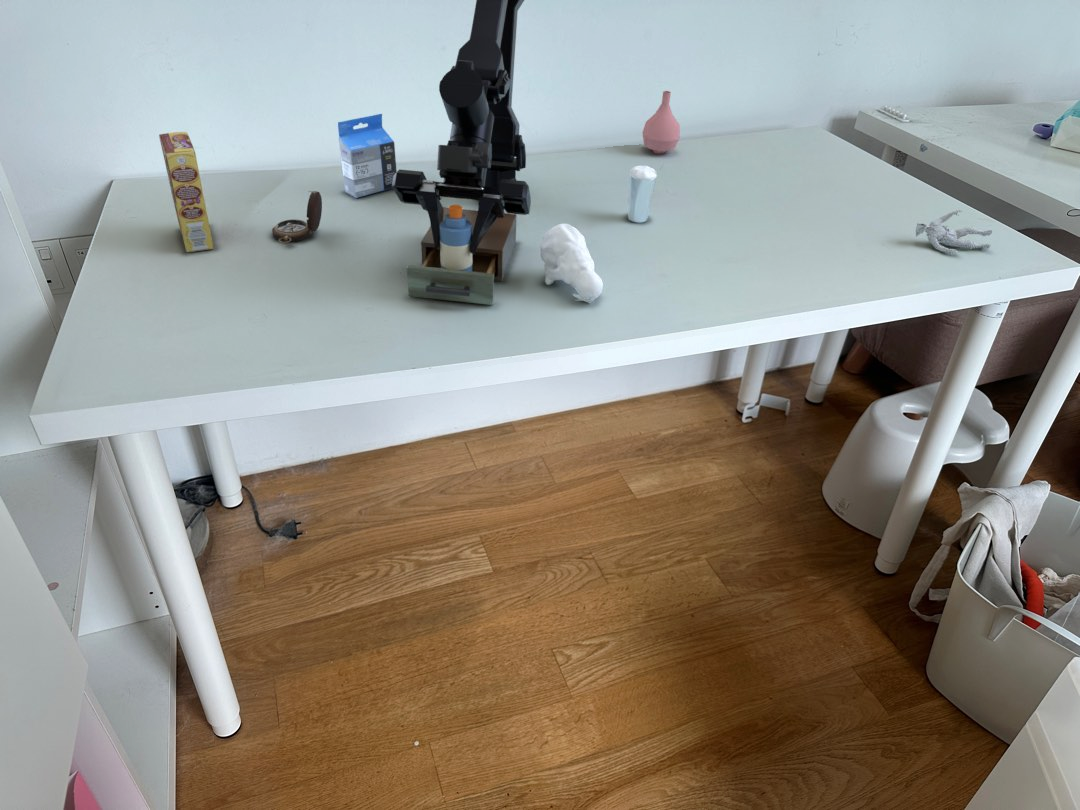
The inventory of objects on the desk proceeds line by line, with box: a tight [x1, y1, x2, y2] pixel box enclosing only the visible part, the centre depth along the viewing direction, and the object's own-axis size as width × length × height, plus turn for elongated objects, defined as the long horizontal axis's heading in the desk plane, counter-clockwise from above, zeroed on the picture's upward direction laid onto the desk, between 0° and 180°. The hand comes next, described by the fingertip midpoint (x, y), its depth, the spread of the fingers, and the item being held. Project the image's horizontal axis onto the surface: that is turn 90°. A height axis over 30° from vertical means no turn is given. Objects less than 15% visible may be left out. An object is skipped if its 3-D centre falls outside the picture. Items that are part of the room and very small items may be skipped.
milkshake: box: [627, 164, 664, 224], centre depth 134 cm, size 4×5×10 cm
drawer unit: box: [420, 206, 518, 282], centre depth 121 cm, size 13×12×5 cm
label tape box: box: [337, 113, 398, 199], centre depth 138 cm, size 9×4×12 cm, turn 131°
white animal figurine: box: [539, 223, 604, 304], centre depth 113 cm, size 6×8×12 cm
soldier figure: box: [915, 209, 993, 255], centre depth 132 cm, size 8×5×12 cm
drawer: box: [406, 248, 498, 306], centre depth 114 cm, size 15×12×4 cm
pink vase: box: [642, 90, 681, 155], centre depth 161 cm, size 8×8×12 cm
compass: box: [271, 190, 323, 244], centre depth 123 cm, size 8×8×7 cm
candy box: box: [158, 131, 214, 253], centre depth 118 cm, size 9×4×15 cm, turn 26°
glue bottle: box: [440, 204, 473, 271], centre depth 110 cm, size 4×4×11 cm
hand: (454, 250), depth 109 cm, fingers open, 5 cm apart
